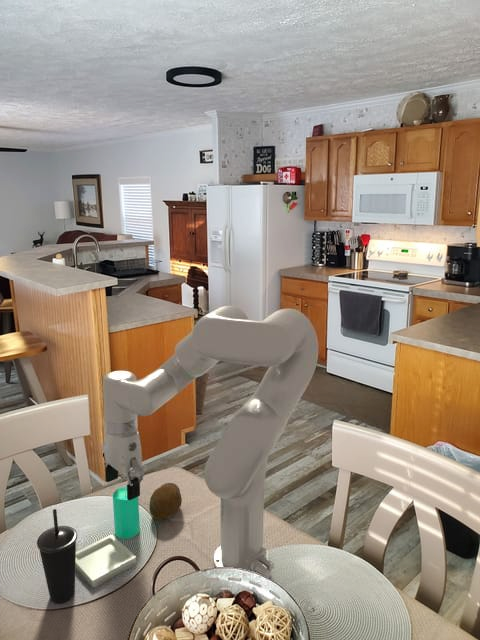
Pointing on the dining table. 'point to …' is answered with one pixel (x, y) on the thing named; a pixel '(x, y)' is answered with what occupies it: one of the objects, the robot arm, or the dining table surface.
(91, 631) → the dining table surface
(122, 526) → the candle
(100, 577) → the tray
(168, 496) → the potato
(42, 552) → the drinking cup
